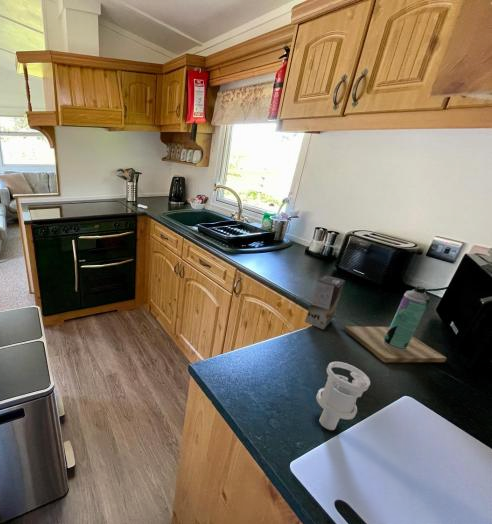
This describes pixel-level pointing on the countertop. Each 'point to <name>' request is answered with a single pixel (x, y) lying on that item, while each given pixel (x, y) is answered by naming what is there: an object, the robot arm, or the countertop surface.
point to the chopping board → (374, 343)
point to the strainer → (340, 395)
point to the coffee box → (324, 301)
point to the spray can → (406, 319)
